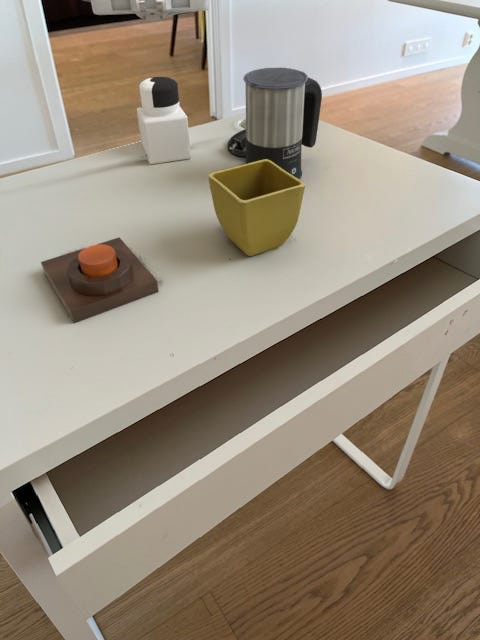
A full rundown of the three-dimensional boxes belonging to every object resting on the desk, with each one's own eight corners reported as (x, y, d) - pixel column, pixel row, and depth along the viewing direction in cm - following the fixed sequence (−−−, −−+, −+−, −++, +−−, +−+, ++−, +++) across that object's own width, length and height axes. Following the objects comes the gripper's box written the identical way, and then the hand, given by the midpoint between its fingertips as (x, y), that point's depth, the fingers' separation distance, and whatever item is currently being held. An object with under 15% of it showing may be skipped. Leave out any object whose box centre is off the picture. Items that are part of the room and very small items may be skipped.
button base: (44, 273, 62) (36, 249, 60) (121, 248, 66) (117, 224, 64) (74, 323, 55) (66, 298, 52) (158, 292, 59) (155, 267, 56)
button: (76, 264, 58) (73, 251, 57) (109, 253, 59) (107, 240, 58) (88, 282, 55) (85, 268, 54) (123, 270, 57) (120, 257, 56)
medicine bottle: (181, 143, 91) (175, 71, 84) (191, 159, 86) (185, 84, 78) (141, 149, 90) (131, 76, 82) (149, 165, 85) (139, 89, 77)
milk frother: (285, 194, 76) (291, 90, 67) (197, 172, 82) (190, 73, 73) (322, 159, 86) (332, 63, 76) (241, 141, 92) (240, 50, 82)
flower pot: (209, 236, 68) (206, 172, 62) (266, 219, 71) (267, 157, 65) (242, 270, 62) (241, 202, 56) (302, 249, 65) (307, 184, 59)
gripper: (89, -27, 91) (82, -14, 81) (203, -31, 93) (210, -19, 83) (96, 14, 95) (90, 31, 85) (205, 9, 97) (212, 25, 87)
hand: (150, 6), depth 84 cm, fingers closed
